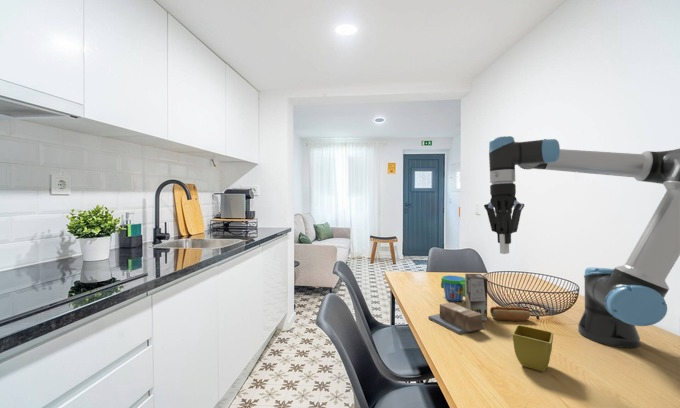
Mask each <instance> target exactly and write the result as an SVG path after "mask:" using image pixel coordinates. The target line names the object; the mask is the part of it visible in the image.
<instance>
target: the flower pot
mask: <svg viewBox="0 0 680 408" xmlns="http://www.w3.org/2000/svg"><path fill="white" fill-rule="evenodd" d="M553 340H554V332H553V331H548V330H545V329H540V328H536V327H535V328H534V327H531V326H526V325H522V324H517V325H516V326H515V328H514V330H513V331H512V341H513V349H514V353H515V356H516V359H517V361H518V362H519V364H520V365H521V366H522V367H525V368H529V369H532V370H536V371H538V372H545V370H546V369H547V368H548V366H549V364H550V360H551V354H552V349H553Z"/></svg>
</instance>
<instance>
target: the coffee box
mask: <svg viewBox="0 0 680 408" xmlns="http://www.w3.org/2000/svg"><path fill="white" fill-rule="evenodd" d="M464 278H465V298H464V299H465V301H464V303H465V308H467V309H470V310H472V311H475V312H478V313H480V314H482V322H483V321H485V322H487V321H488V278H486V277H485V276H484V275H482V274H481V273H465V274H464Z"/></svg>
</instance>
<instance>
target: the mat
mask: <svg viewBox="0 0 680 408" xmlns="http://www.w3.org/2000/svg"><path fill="white" fill-rule="evenodd" d="M428 320H430V321H432V322H434V323H436V324H438V325H440V326H443V327H444V328H445V329H446V328H447V329H448V330H450V331H452V332H454V333H456V334H459V335H461V334H466V333H468V332H469V331H467V330H465V329H463V328H461V327H459V326H457V325H455V324H453V323H450V322H448V321H446V320H444V319H442V318H440V313H437V314H432V315H428ZM483 328H484V324H482V329H483Z"/></svg>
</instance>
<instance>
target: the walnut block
mask: <svg viewBox="0 0 680 408" xmlns="http://www.w3.org/2000/svg"><path fill="white" fill-rule="evenodd" d="M439 314H440V318H442V319H444V320H446V321H448V322H450V323H453V324H455V325H457V326H459V327H461V328H463V329H465V330H467V331H469V332H475V331H477V330H481V329H483V328H482V325H483V321H482V314H480V313H478V312H475V311H472V310H470V309H467V308H465V307H464V306H461V304H460V305H459V304H456V303H454V302H453V301H450V302H445V303H441V304H439Z"/></svg>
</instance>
